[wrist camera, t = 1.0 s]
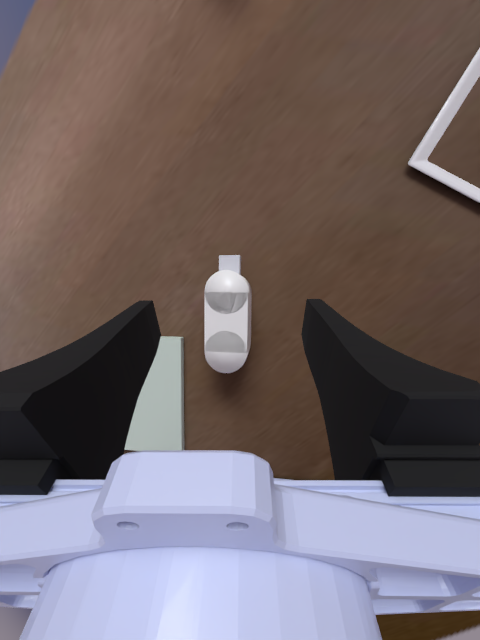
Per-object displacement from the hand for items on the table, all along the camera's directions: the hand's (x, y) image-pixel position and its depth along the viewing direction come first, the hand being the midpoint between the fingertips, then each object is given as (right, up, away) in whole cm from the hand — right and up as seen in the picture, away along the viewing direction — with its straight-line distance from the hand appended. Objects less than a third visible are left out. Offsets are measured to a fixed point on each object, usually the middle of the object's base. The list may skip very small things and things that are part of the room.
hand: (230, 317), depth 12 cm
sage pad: (-10, -8, +15) cm, 20 cm away
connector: (0, 0, +13) cm, 13 cm away
